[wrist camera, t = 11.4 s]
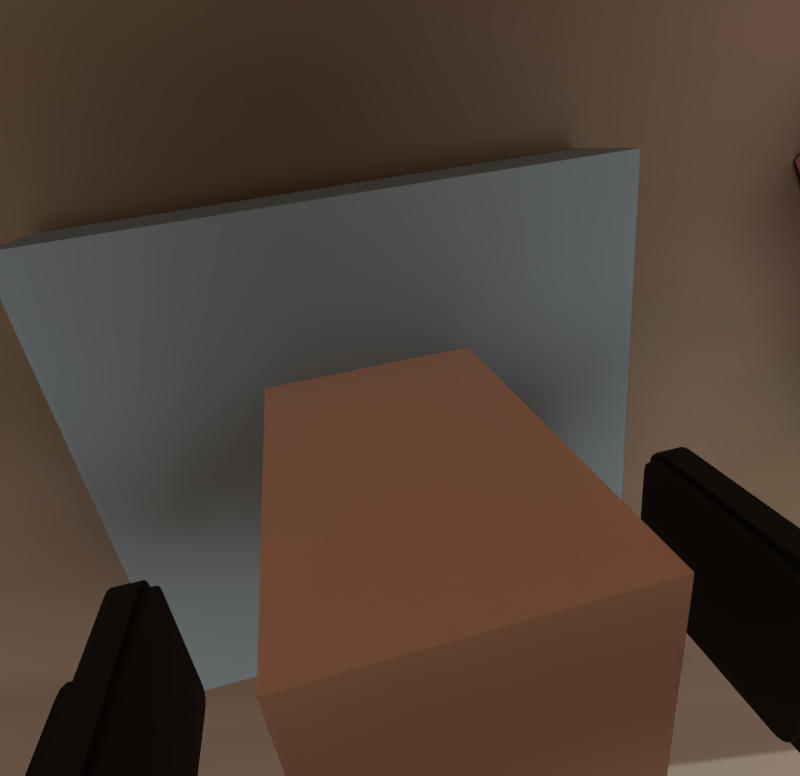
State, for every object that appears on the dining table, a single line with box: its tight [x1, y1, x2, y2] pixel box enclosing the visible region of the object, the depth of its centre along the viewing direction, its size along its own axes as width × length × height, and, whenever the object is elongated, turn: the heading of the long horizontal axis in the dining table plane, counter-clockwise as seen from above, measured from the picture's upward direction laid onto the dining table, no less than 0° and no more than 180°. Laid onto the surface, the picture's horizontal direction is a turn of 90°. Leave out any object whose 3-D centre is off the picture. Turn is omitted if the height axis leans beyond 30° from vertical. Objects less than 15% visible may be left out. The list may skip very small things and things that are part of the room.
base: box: [0, 148, 641, 691], centre depth 15 cm, size 13×14×3 cm
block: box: [257, 347, 695, 776], centre depth 10 cm, size 5×5×8 cm
